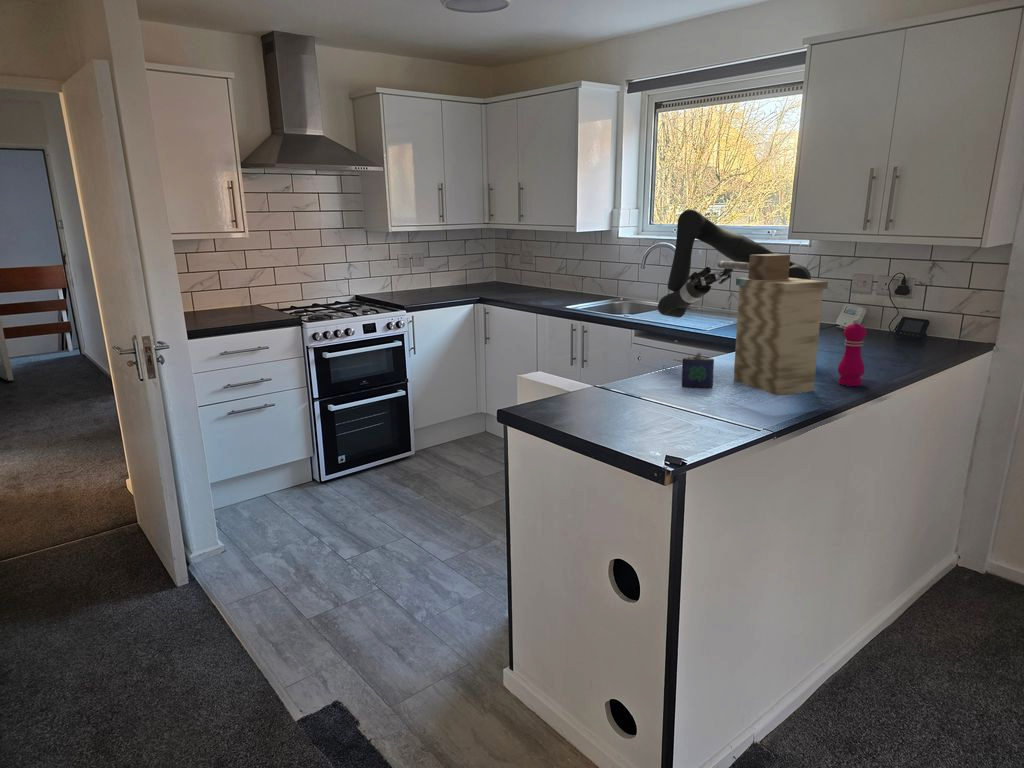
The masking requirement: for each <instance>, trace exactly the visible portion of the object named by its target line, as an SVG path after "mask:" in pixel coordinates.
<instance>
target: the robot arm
mask: <svg viewBox="0 0 1024 768" xmlns="http://www.w3.org/2000/svg"><path fill="white" fill-rule="evenodd" d="M676 225H677V228H676V241H675V248H674V256H673V259H672V264H671V269H670V272H669V277H668V281H667V289H668V291H671V293H668V294H665V295H664V296H662V298H660V299H659V301H658V304H657V311H658V312H659V314H660V315H663V316H666V317H673V318H677V319H678V318H680V319H681V318H682V317H683V316H684V315H685V314H686V312H687V309H688V307H689V306H691V305H692V304H694V303H695V302H697V301H699V300H700V299H701V298H703V297H704V296H705V295H706V294H708V293H709V292H710V290H711V288H712V286H714V285H715V284H717V283H718V285H721V284H723V283H725V282H726V281H728V280H730V279H731V278H732V276H731V273H733V271H734V269H726V268H723V270H721V271H719V270H717V271H714V272H712V270H711V266H710V265H709V266H706V267H705V268H704V269H702V270H699V271H698V272H697V271H694V272H692V273H691V267H692V253H693V247H694V244H695V240H698V241H700V242H702V243H705V244H706V245H709V246H710V247H712V248H713V249H715V250H716V251H717V252H719V253H720V254H721V255H724V257H726V258H728V259H729V260H731V261H732V262H745V263H749V259H750V255H758V254H775V252H773V251H771V250H770V249H768V248H766V247H764V246H763V245H761V244H759V243H758V242H757V241H754V240H753V239H750V238H749V237H747V236H745V235H742V234H741V233H738V232H735V231H732V230H730V229H726V228H723V227H721V226H719V225H717V224H715V223H714V222H712V221H711V220H709V219H708V218H707V217H706V216H704V215H703V214H702V213H700V212H699V211H697V210H696V209H686V210H684V211H683V212H681V213H680V215H679V216H678V219H677V224H676ZM711 272H712V273H711ZM690 273H691V274H690ZM716 275H717V277H716ZM811 275H812V274H811V273H810V270H809V269H808V268H807V267H805V266H804V265H801V264H799V263H795V262H792V261H791V260H790V265H789V278H798V279H807V280H812V276H811Z"/></svg>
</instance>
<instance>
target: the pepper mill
mask: <svg viewBox="0 0 1024 768" xmlns="http://www.w3.org/2000/svg"><path fill="white" fill-rule="evenodd" d="M866 336H867V329H866V327H865V326H864V325H862V324H860V319H858V318H854V319H853V320H852V324H851V323H850V324H848V325H846V327H845V328H844V330H843V337H844V338H845V340H844V345H845V351H844V355H843V356H842V359H841V360H840V362H839V363H838V367H837V373H838V374H839V375H840V376H839V377H838V381H837V383H838V385H840V384H842V385H841V386H843V385H848V386H847V387H851V386H856V387H860V386H862V378H861V377H862V376H863V375H864V374H865V364H864V361H863V358H862V354H861V353H862V347H863V346H864V340H863V339H865V338H866ZM859 385H860V386H859Z"/></svg>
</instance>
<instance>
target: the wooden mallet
mask: <svg viewBox="0 0 1024 768" xmlns="http://www.w3.org/2000/svg"><path fill="white" fill-rule="evenodd" d="M790 261H791V254H780V253H779V254H778V253H774V254H758V255H750V259H749V263H745V262H735V261H733V260H731V261H729V260H719V261H717V267H718V268H719V269H725V268H726V269H733V270H737V271H748V275H747V278H750V279H758V280H780V279H788V278H789V265H790Z"/></svg>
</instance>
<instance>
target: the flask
mask: <svg viewBox="0 0 1024 768" xmlns="http://www.w3.org/2000/svg"><path fill="white" fill-rule="evenodd" d="M714 363H715V359H714V358H711V357H709V358H707V357H706V358H705V357H704V358H702V353H701V352H697V353H696V356H692V357H691V356H688V357H683V358H682V364H681V365H682V366H681V368H682V371H681V373H682V374H681V387H682V388H684V389H713V387H714V368H715V367H714V366H715V365H714Z"/></svg>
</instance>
